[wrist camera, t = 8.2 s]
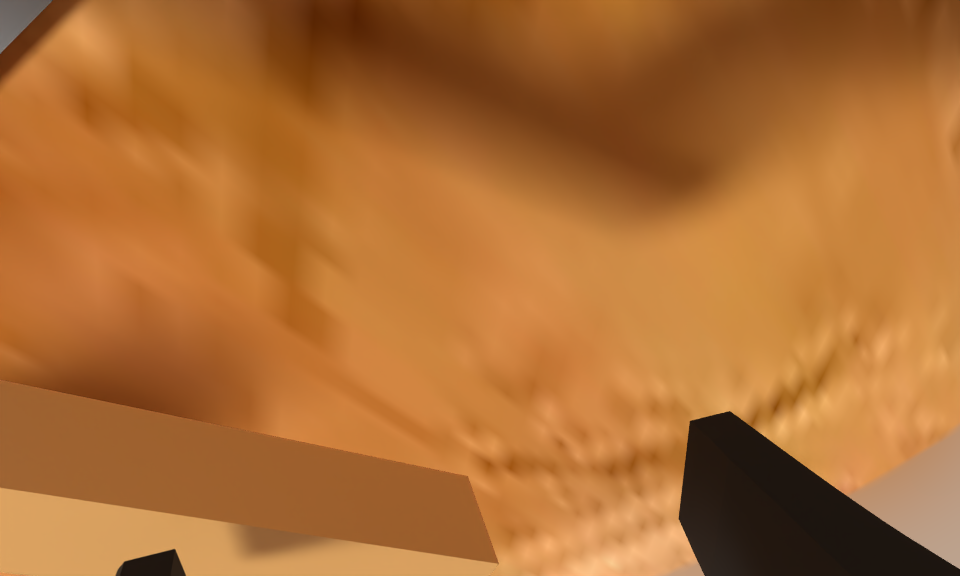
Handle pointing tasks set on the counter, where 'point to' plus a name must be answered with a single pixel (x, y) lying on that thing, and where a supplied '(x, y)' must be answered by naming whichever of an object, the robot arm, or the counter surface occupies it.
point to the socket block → (17, 17)
